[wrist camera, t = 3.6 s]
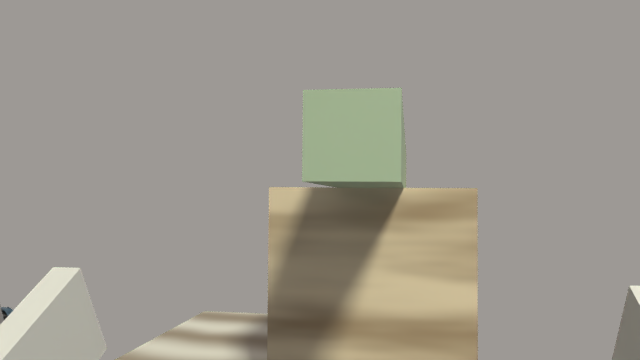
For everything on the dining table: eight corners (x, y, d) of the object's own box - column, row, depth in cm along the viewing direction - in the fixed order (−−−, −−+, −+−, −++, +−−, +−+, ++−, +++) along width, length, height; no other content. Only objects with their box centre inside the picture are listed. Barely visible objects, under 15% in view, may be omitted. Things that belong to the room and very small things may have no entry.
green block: (401, 181, 18) (401, 87, 18) (302, 181, 18) (302, 90, 18) (405, 192, 43) (406, 154, 43) (364, 192, 44) (365, 154, 44)
